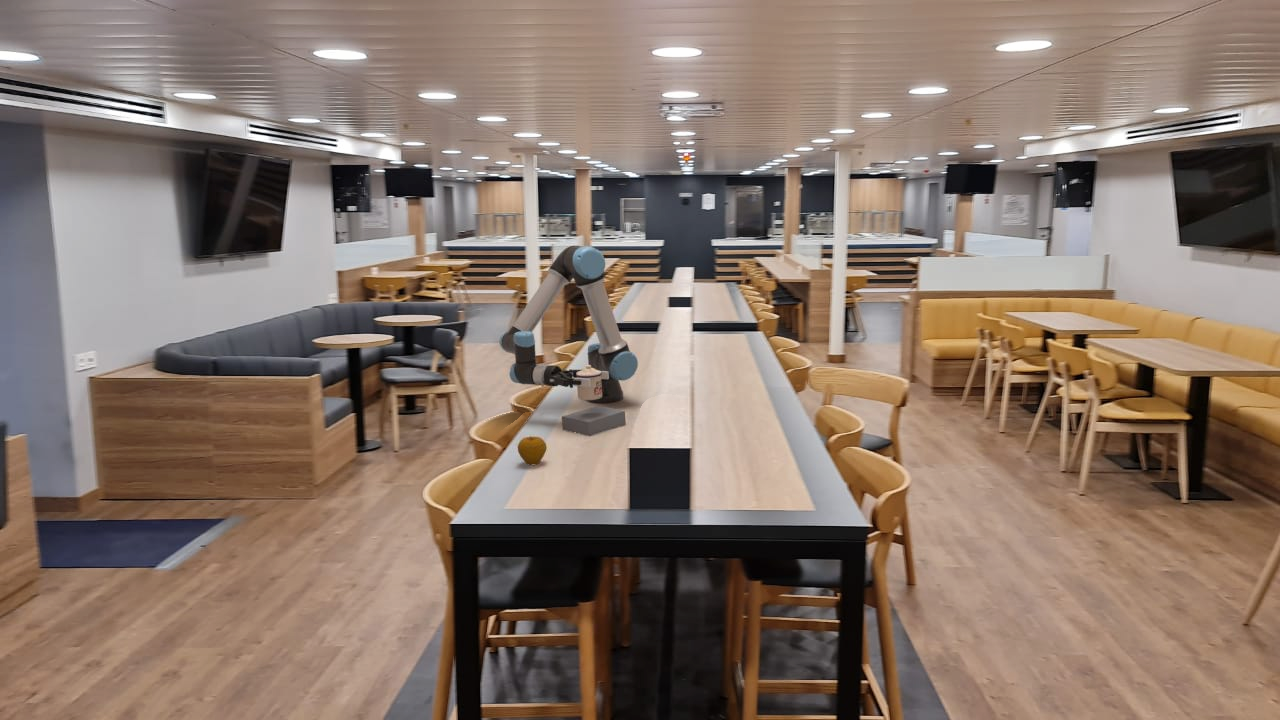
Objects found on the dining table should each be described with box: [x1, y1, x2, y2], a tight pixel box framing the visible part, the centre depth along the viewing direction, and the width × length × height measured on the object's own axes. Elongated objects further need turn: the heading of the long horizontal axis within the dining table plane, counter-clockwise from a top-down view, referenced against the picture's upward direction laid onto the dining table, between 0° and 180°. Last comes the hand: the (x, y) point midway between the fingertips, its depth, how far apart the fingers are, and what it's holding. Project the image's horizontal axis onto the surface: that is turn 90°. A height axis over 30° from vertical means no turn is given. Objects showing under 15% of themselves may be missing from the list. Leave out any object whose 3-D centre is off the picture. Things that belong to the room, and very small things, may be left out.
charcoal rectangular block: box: [561, 405, 626, 437], centre depth 316 cm, size 18×14×5 cm
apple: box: [517, 435, 548, 466], centre depth 276 cm, size 9×9×9 cm
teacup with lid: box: [576, 364, 602, 401], centre depth 313 cm, size 12×9×12 cm
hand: (599, 379), depth 311 cm, fingers closed on teacup with lid, 12 cm apart
